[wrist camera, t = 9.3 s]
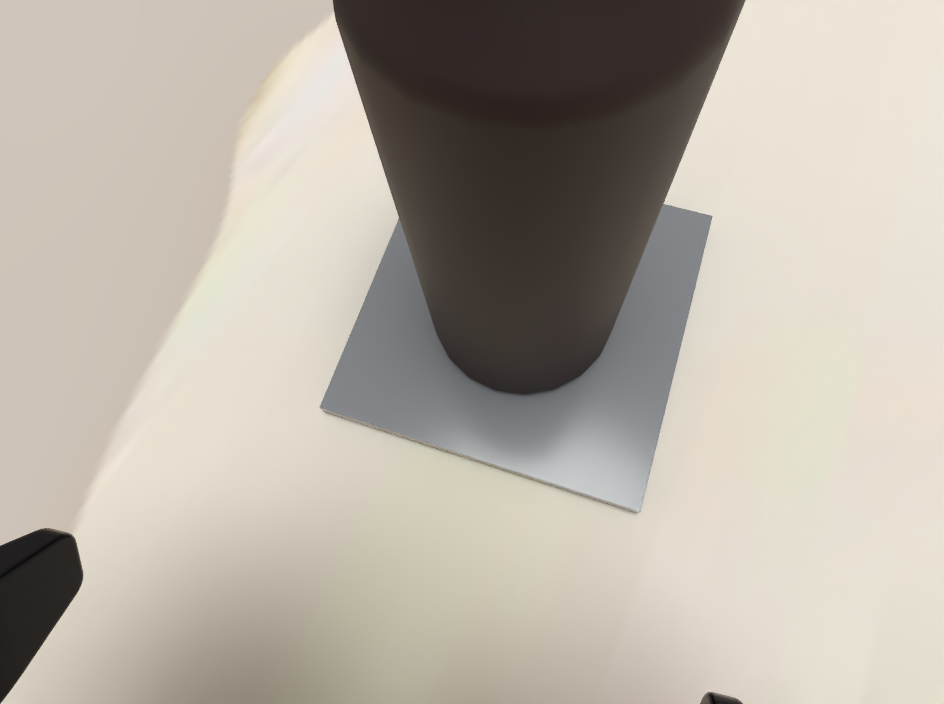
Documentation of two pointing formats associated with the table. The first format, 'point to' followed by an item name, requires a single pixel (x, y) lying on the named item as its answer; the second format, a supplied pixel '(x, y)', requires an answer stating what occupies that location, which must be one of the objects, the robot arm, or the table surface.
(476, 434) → the slate coaster
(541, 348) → the vinegar
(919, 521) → the table surface
